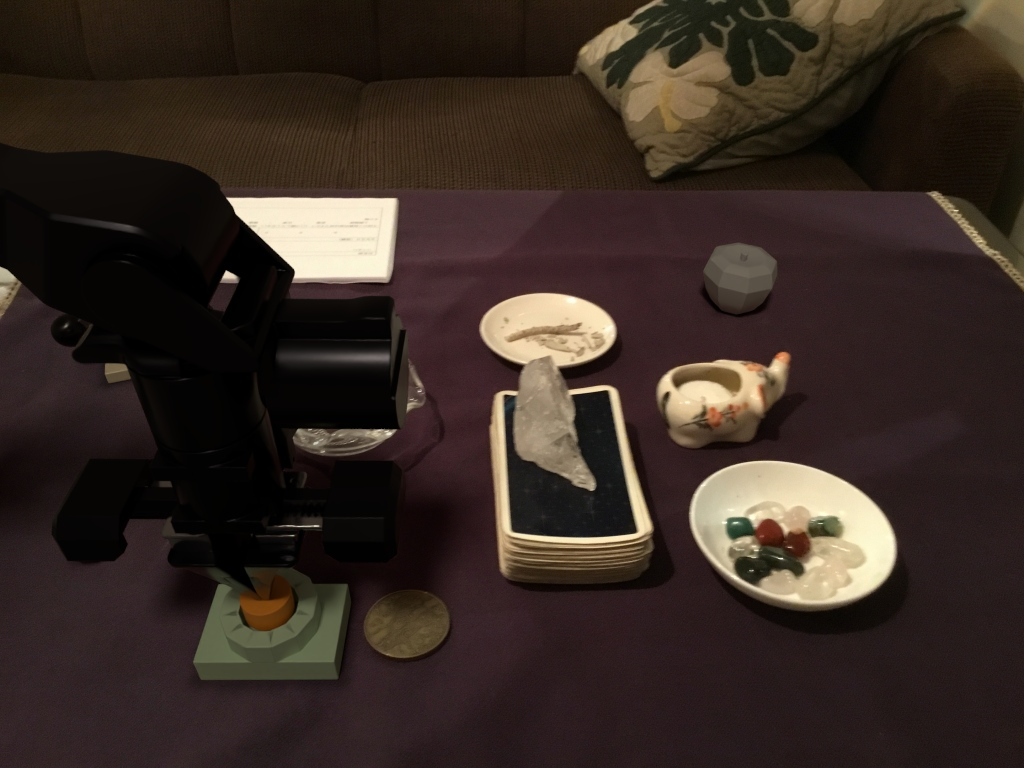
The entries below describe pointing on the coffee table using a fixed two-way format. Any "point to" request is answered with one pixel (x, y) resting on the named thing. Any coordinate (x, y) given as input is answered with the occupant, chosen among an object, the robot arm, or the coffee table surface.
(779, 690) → the coffee table surface
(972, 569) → the coffee table surface
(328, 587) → the button block
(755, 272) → the apple
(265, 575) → the robot arm
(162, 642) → the coffee table surface
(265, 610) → the button
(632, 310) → the coffee table surface
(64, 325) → the press lever
